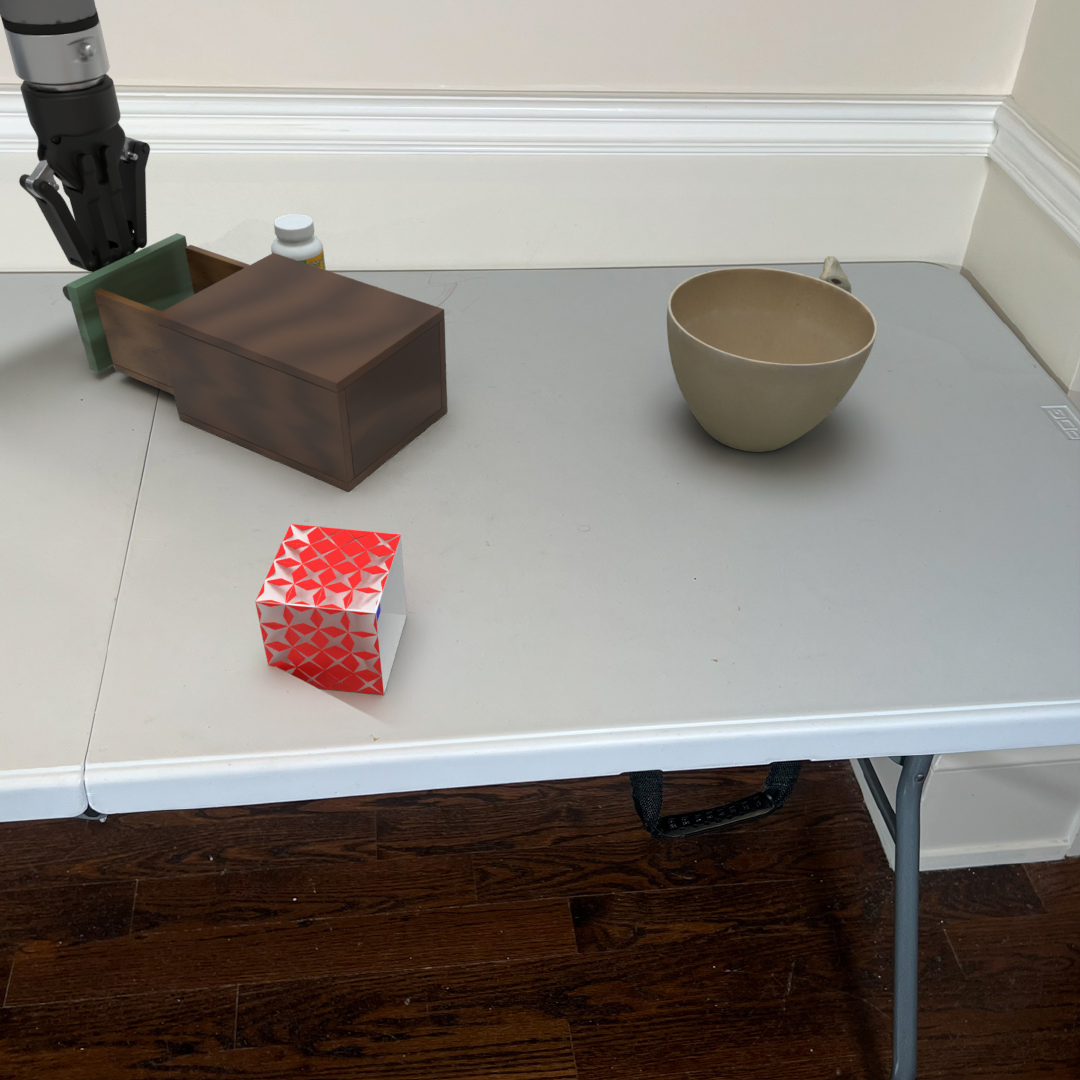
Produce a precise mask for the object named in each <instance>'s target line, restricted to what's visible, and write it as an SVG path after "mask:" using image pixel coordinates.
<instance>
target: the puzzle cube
mask: <svg viewBox="0 0 1080 1080" xmlns="http://www.w3.org/2000/svg"><path fill="white" fill-rule="evenodd" d="M403 554H404V553H403V539H402V534H401V533H392V532H382V531H370V530H361V529H351V528H350V529H349V528H339V527H338V528H337V527H326V526H316V525H306V524H297V523H290V524H289V526H288V528H287V529H286V533H285V535H284V536H283V539H282V542H281V543H280V545H279V547H278V550H277V553H276V554H275V557H274V558H273V561H272V564H271V565H270V568H269V570H268V572H267V573H266V577H265V579H264V581H263V583H262V586H261V587H260V590H259V592H258V595H257V596H256V599H255V601H254V602H255V607H256V612H257V617H258V622H259V626H260V632H261V638H262V642H263V648H264V652H265V658H266V662H267V666H268V667H269V666H271V667H276V668H278V669H280V670H282V671H283V672H286V673H288V674H289V675H292V676H293V677H295V678H296V679H299V680H301V681H303V682H304V683H306V684H308V685H311V686H312V687H314V688H316V689H321V690H331V691H342V692H351V693H362V694H369V695H370V694H371V695H380V696H381V695H382V696H384V695H385V694H386V689H387V685H388V682H389V679H390V675H391V672H392V669H393V666H394V662H395V658H396V655H397V652H398V648H399V645H400V640H401V638H402V634H403V630H404V628H405V623H406V620H407V616H408V609H407V597H406V596H407V595H406V594H407V593H406V583H405V581H406V579H405V569H404V567H405V566H404V555H403Z"/></svg>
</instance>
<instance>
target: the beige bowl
mask: <svg viewBox="0 0 1080 1080" xmlns="http://www.w3.org/2000/svg"><path fill="white" fill-rule="evenodd" d="M666 307H667V309H666V333H667V334H666V335H667V344H668V351H669V356H670V362H671V366H672V369H673V373H674V377H675V380H676V383H677V385H678V389H679V391H680V392H681V395H682V397H683V398H684V401H685V403H686V404H687V406H688V408H689V409H690V411H691V412H692V414H693V416H694V417H695V418H696V420H697V421H698V423H699V424H700V425H701V427H702V428H703V429H704V431H705V432H707V434H708V435H709V436H711V437H712V438H713V439H714V440H715V441H717V442H719V443H720V444H722V445H724V446H727V447H728V448H732V449H736V450H739V451H743V452H752V453H763V452H772V451H776V450H779V449H781V448H783V447H785V446H788V445H790V444H791V443H793V442H794V441H796V440H798V439H799V438H801V437H803V436H804V435H805V434H807V433H808V432H810V431H811V430H813V429H814V428H816V426H818V425H819V424H820V423H821V422H822V421H824V419H826V418H827V417H828V415H830V414H831V413H832V412H833V410H834V409H836V407H837V406H838V405H839V404H840V403H841V402H842V400H843V399H844V398H845V397H846V395H847V394H848V392H849V391H850V389H851V388H852V387H853V386H854V384H855V382H856V381H857V379H858V377H859V375H860V373H861V372H862V370H863V368H864V367H865V364H866V362H867V361H868V358H869V356H870V355H871V354H870V353H871V351H872V350H873V347H874V344H875V341H876V338H877V335H878V323H877V320H876V317H875V315H874V314H873V312H872V311H871V309H870V308H869V307H868V306H867V305H866V304H865V303H864V302H863V301H862V300H861V299H860V298H858V297H857V296H855V295H854V294H852V292H851V293H849V292H847V291H845V290H844V289H842V288H840V287H838V286H836V285H833V284H831V283H829V282H826V281H824V280H821V279H819V277H815V276H811V275H808V274H804V273H800V272H796V271H791V270H784V269H779V268H771V267H770V268H769V267H760V266H759V267H758V266H735V267H723V268H717V269H711V270H707V271H704V272H700V273H697V274H694V275H692V276H690V277H688V278H686V279H684V280H683V281H681V282H680V283H678V284H677V285H676V286H675V287H674V289H673V290H672V291H671V292H670V294H669V295H668V300H667V306H666Z"/></svg>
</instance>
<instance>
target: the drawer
mask: <svg viewBox="0 0 1080 1080" xmlns="http://www.w3.org/2000/svg"><path fill="white" fill-rule="evenodd" d="M249 265H250V263H249V264H248V263H246V262H242V261H240V260H237V259H235V258H231V257H228V256H226V255H223V254H219V253H216V252H215V251H214V252H213V251H210V250H207V249H205V248H202V247H199V246H196V245H194V244H193V245H192V244H188V243H187V237H186V235H184V234H180V233H179V232H177V233H174V234H172V235H169V236H167V237H165V238H163V239H161V240H159V241H157V242H155V243H152V244H150V245H149V246H145V247H144V248H141V249H140V250H136V251H135V253H133V254H131V255H129V256H127V257H125V258H122V259H120V260H118V261H116V262H114V263H112V264H110V265H107V266H105V267H103V268H101V269H99V270H97V271H95V272H90V273H87V274H86V275H83V276H81V277H80V278H79V277H78V279H76V280H73V281H71V282H68V283H66V284H65V285H63V286H62V293H63V296H64V297H65V298H66V300H68V302H70V304H71V307H72V310H73V314H74V318H75V321H76V325H77V329H78V331H79V335H80V339H81V343H82V346H83V349H84V353H85V356H86V359H87V364H88V366H89V369H90V370H91V371H93V372H96V373H101V372H103V371H104V370H106V369H108V368H110V367H111V366H113V369H114V371H116V372H118V373H120V374H123V375H125V376H127V377H130V378H133V379H135V380H137V381H140V382H142V383H144V384H147V385H149V386H152V387H155V388H156V389H159V390H161V391H163V392H166V393H169V394H171V395H173V396H174V392H173V388H172V383H171V379H170V375H169V370H168V366H167V362H166V357H165V353H164V349H163V344H162V340H161V336H160V331H159V327H158V323H157V318H156V314H158V313H160V312H162V311H164V310H166V309H168V308H170V307H171V306H173V305H175V304H177V303H179V302H181V301H183V300H185V299H187V298H188V297H190V296H192V295H194V294H196V293H198V292H200V291H202V290H204V289H206V288H207V287H209V286H211V285H213V284H215V283H217V282H219V281H221V280H223V279H225V278H226V277H228V276H230V275H232V274H234V273H236V272H238V271H240V270H242V269H244V268H245V267H247V266H249Z"/></svg>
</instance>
